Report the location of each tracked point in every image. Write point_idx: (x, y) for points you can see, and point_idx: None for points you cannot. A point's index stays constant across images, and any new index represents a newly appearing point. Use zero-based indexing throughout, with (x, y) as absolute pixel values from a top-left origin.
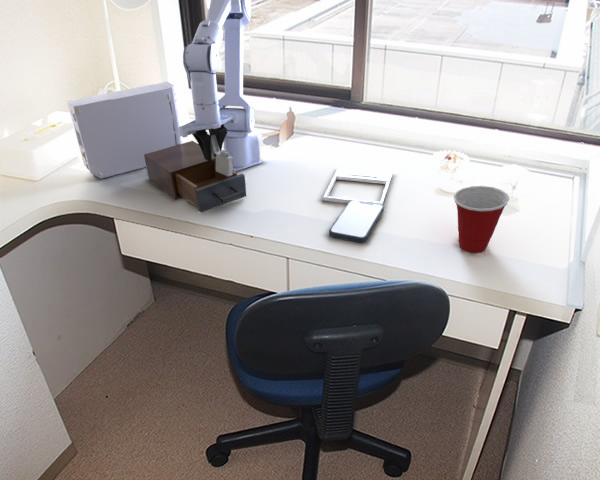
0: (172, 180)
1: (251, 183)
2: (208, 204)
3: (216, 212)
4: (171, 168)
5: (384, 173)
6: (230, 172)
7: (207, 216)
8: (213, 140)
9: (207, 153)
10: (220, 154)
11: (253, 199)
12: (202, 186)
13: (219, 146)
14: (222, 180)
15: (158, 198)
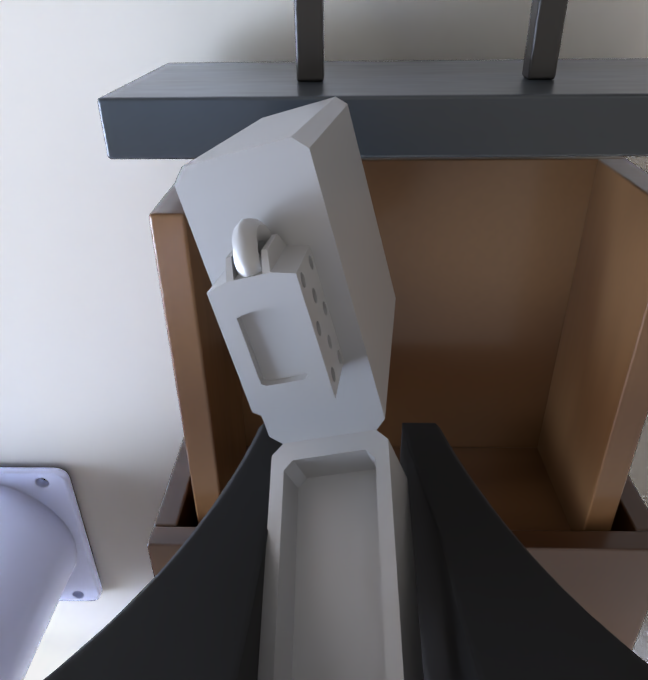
0: (636, 491)
1: (23, 275)
2: (584, 65)
3: (509, 24)
4: (611, 594)
5: None
6: (293, 110)
7: (610, 10)
8: (313, 677)
9: (483, 497)
10: (338, 362)
11: (123, 17)
12: (392, 387)
13: (253, 530)
14: (391, 147)
15: (634, 463)
